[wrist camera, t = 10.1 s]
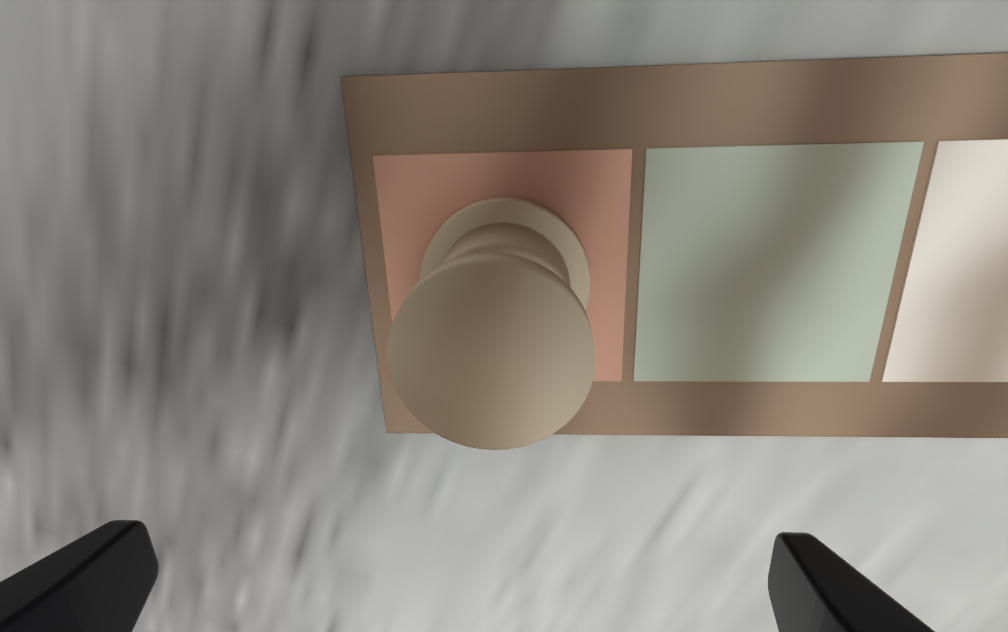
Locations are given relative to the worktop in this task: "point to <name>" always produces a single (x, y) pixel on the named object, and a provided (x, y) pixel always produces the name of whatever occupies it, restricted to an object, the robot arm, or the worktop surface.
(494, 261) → the pawn
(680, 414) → the board
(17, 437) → the worktop surface
